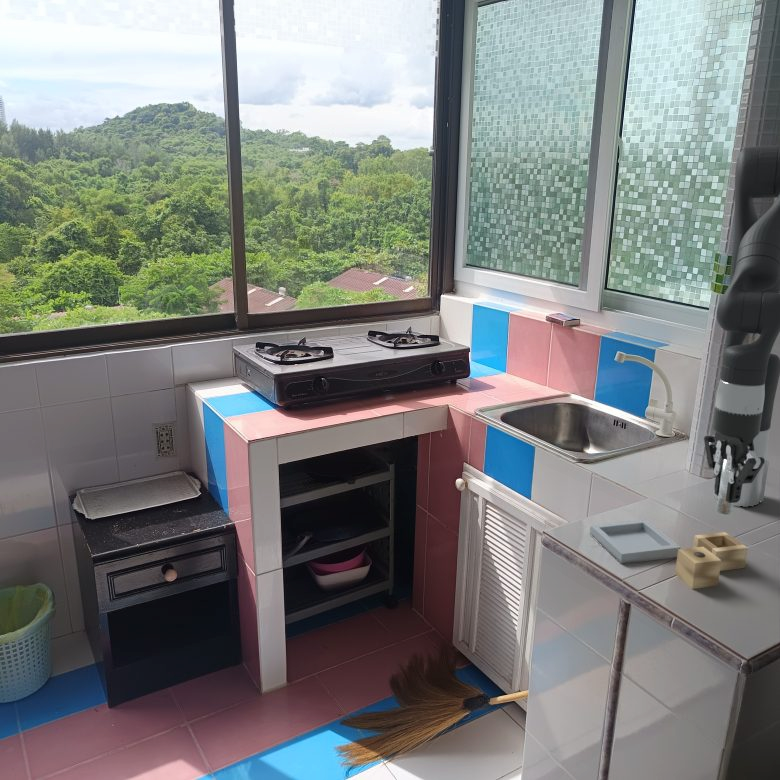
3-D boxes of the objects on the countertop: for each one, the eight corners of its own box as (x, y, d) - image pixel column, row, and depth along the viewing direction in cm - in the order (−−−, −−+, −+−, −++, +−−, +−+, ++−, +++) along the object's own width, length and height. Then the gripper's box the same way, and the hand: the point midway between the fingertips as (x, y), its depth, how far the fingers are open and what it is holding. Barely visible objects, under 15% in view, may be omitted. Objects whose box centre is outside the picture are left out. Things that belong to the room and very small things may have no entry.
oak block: (722, 551, 140) (724, 531, 139) (744, 567, 134) (747, 547, 133) (692, 554, 138) (694, 535, 137) (713, 571, 132) (716, 551, 131)
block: (699, 571, 133) (703, 546, 131) (717, 586, 128) (721, 559, 127) (675, 574, 132) (678, 549, 130) (691, 589, 127) (695, 562, 126)
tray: (644, 528, 149) (645, 519, 148) (679, 556, 138) (680, 547, 137) (589, 534, 146) (590, 525, 146) (621, 563, 135) (621, 554, 135)
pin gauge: (725, 507, 135) (732, 456, 132) (735, 513, 132) (742, 461, 130) (713, 508, 134) (720, 457, 132) (722, 514, 132) (729, 462, 129)
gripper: (786, 416, 122) (771, 512, 127) (731, 394, 136) (719, 482, 140) (747, 419, 121) (733, 516, 125) (695, 396, 134) (684, 485, 139)
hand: (726, 497), depth 133 cm, fingers closed on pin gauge, 2 cm apart
